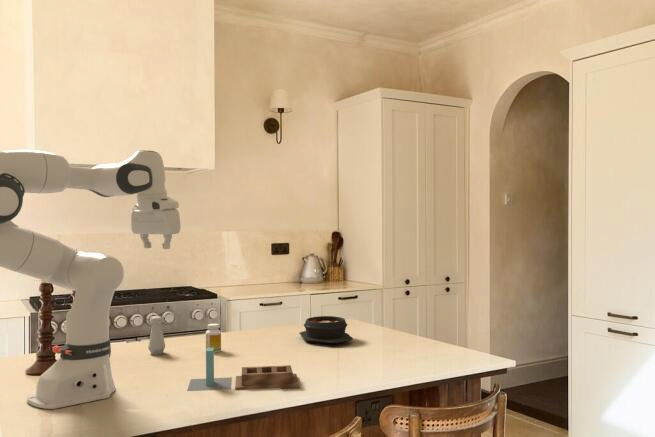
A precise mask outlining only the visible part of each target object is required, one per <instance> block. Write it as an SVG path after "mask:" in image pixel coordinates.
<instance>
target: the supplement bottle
mask: <svg viewBox="0 0 655 437" xmlns="http://www.w3.org/2000/svg"><path fill="white" fill-rule="evenodd" d="M219 328H220V324H219V323H209V324H207V330H206V331H205V350H206V349H207V348H214V354H217V353H220V352H221V351H222V331H221V330H220V329H219Z"/></svg>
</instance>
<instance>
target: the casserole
mask: <svg viewBox="0 0 655 437" xmlns="http://www.w3.org/2000/svg"><path fill="white" fill-rule="evenodd" d="M303 326H304V328H305V330H303V331H300V332H299V333H298V334H299V335H300V336H301V338H302V339H304V340H306V341H309V342H310V343H311V342H312V343H315V344H320V345H321V344H326V345H327V344H339V343H340V344H341V343H346V342H351V341H353V340H354V337H352V336H351V335H350V334H349V333H347V332H346V329H347V327H348V323H347V321H346V319H345V317H344V318H343V317H340V316H335V315H333V316H332V315H331V316H330V315H321V316H320V315H317V316H311V317H308V318H306V320H305V323H304V324H303Z"/></svg>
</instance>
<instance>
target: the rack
mask: <svg viewBox="0 0 655 437" xmlns="http://www.w3.org/2000/svg"><path fill="white" fill-rule="evenodd" d="M300 384H301V383H300V380H299V378H298V374H297V373H293V369H292V366H291V365H290V364H288V365H268V366H267V365H266V366H264V365H263V366H244V367H241V375H235V385H234V390H235V391H240V390H261V389H262V390H263V389H264V390H265V389H280V390H286V389H287V390H289V389H291V390H292V389H300V388H301V385H300Z"/></svg>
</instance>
